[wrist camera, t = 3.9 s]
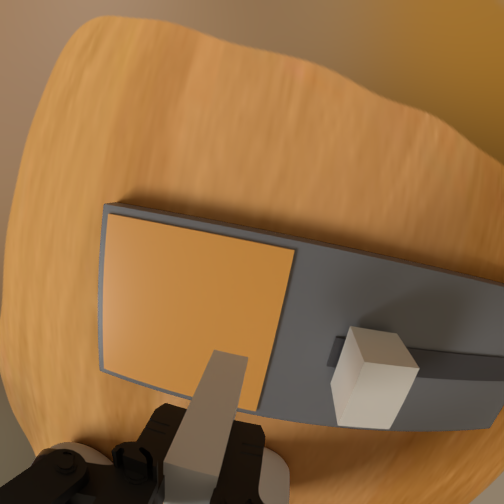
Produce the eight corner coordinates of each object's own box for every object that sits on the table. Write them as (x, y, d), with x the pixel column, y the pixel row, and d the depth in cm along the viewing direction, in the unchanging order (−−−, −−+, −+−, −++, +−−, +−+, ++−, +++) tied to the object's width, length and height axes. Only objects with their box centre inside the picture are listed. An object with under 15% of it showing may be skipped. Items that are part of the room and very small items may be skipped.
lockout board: (483, 418, 20) (490, 429, 18) (108, 361, 22) (98, 371, 20) (540, 292, 17) (552, 299, 16) (115, 202, 19) (102, 204, 18)
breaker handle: (374, 388, 18) (389, 429, 14) (330, 383, 18) (337, 425, 14) (396, 333, 17) (419, 368, 13) (350, 325, 17) (364, 361, 13)
